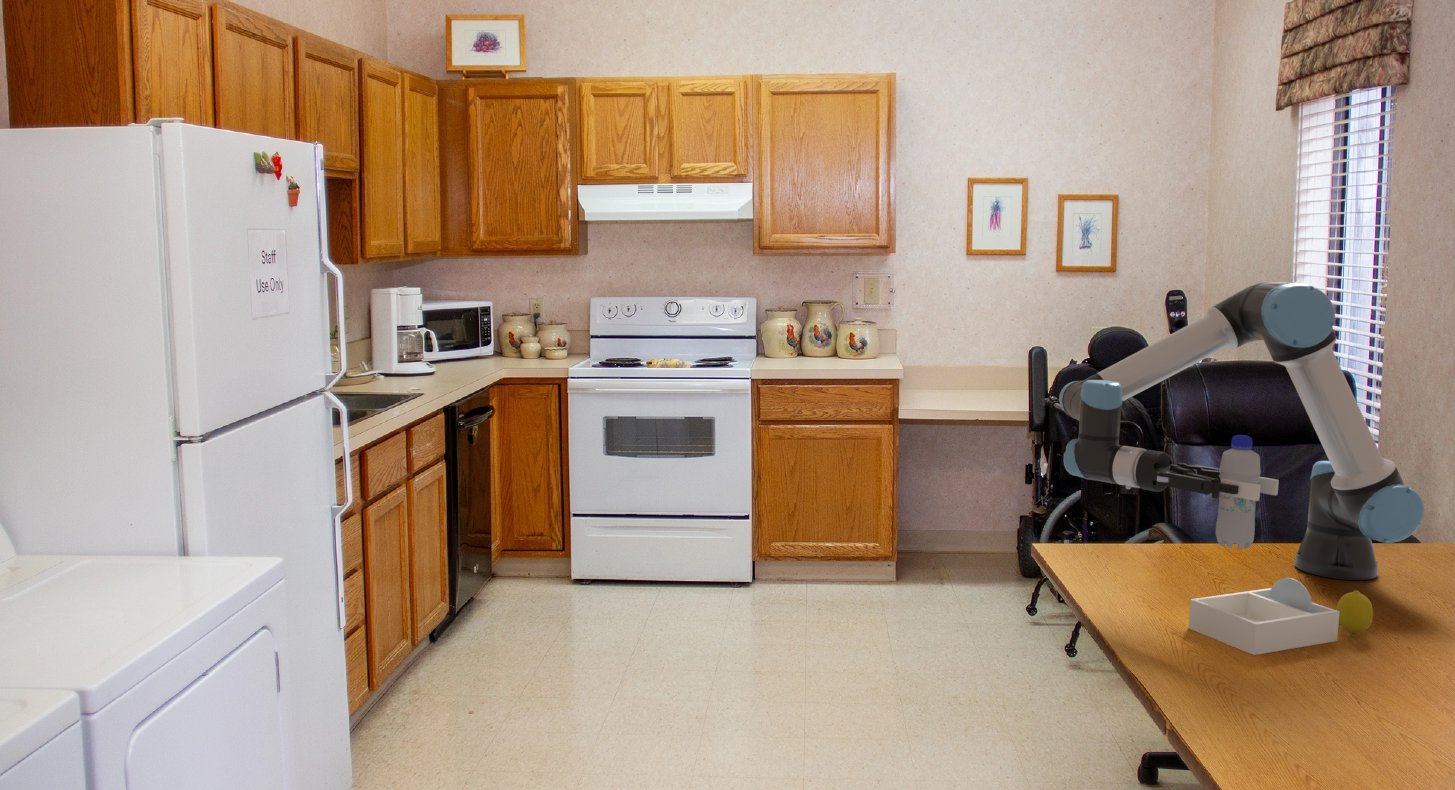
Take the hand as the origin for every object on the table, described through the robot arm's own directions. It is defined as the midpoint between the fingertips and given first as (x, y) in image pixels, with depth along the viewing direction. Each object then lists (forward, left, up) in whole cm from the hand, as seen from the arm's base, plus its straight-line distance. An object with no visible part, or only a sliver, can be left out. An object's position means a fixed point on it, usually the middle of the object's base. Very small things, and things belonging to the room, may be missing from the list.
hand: (1267, 490), depth 194 cm
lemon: (-12, +10, -25) cm, 29 cm away
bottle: (+2, -5, -11) cm, 12 cm away
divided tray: (+3, +4, -24) cm, 25 cm away
